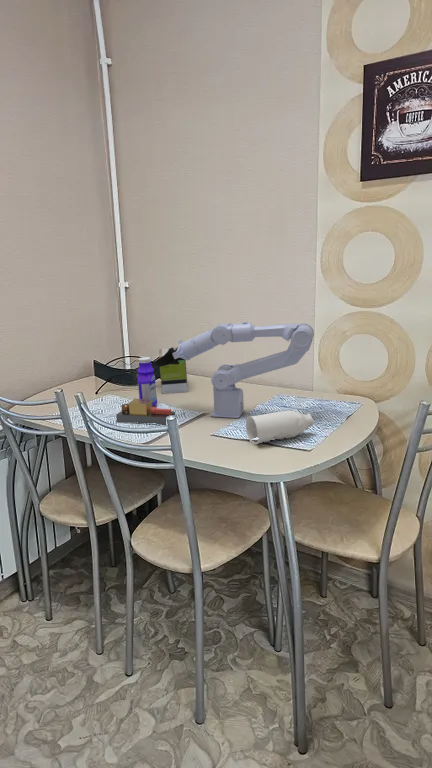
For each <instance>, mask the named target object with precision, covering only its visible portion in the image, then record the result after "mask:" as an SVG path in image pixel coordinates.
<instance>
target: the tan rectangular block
mask: <svg viewBox="0 0 432 768" xmlns="http://www.w3.org/2000/svg"><path fill="white" fill-rule="evenodd" d="M128 404H129V411H130V415H143V416H147V415H149V414H150V413H151V407H152V400H151V399H139V398H134V399H131V401H129V402H128Z"/></svg>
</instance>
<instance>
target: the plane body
mask: <svg viewBox="0 0 432 768" xmlns="http://www.w3.org/2000/svg"><path fill="white" fill-rule="evenodd" d="M115 415H116V416H115V417H116V423H125V422H136V423H135V424H140V423H157V424H162V425H161V426H167V425H166V417H167V416H169V415H164V414H151V413H150V414H149V415H147V416H143V415H130V411H129V403H123V404H121V410H120V412H118V413H117V414H115ZM170 415H175V416H176V412H175V411H172V414H170ZM137 422H138V423H137Z"/></svg>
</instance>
